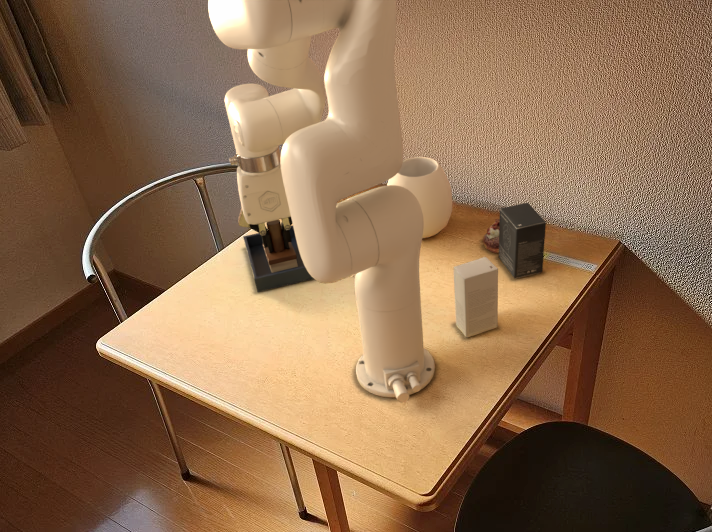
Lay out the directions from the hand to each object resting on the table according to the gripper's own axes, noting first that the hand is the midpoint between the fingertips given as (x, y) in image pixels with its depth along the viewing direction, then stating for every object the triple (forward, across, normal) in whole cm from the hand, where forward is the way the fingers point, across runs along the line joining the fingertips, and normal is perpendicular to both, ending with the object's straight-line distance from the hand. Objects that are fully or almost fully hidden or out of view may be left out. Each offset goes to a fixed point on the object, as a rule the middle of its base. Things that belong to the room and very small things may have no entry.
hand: (278, 246), depth 142 cm
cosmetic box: (+4, +28, -33) cm, 43 cm away
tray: (+4, 0, 0) cm, 4 cm away
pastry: (+4, +42, -11) cm, 44 cm away
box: (+4, +42, -19) cm, 46 cm away
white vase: (+4, +29, +1) cm, 29 cm away
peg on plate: (+3, 0, 0) cm, 3 cm away
